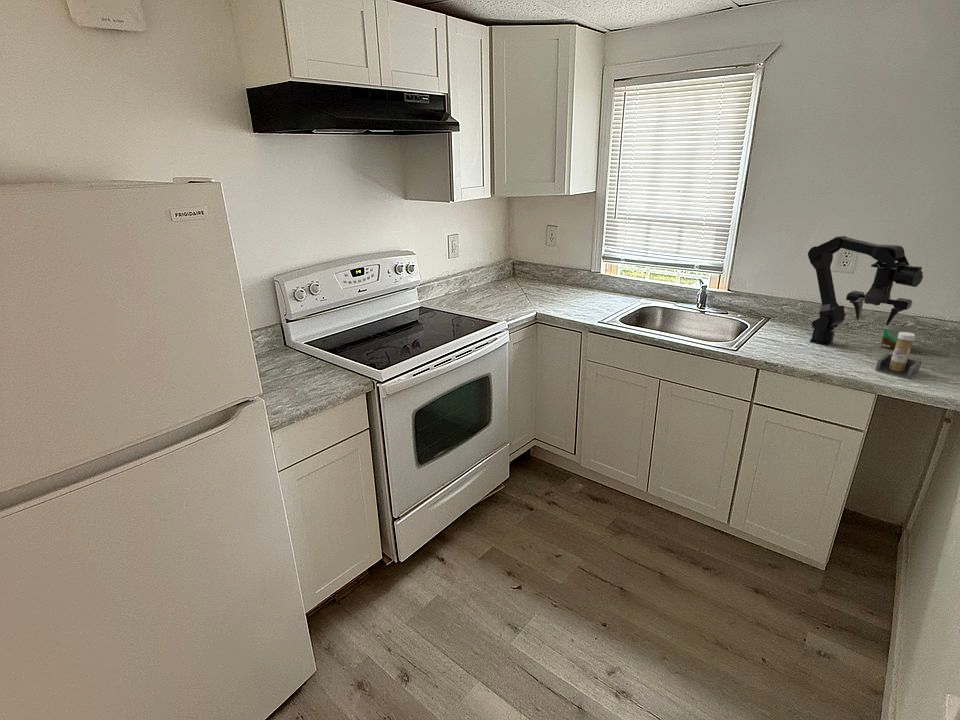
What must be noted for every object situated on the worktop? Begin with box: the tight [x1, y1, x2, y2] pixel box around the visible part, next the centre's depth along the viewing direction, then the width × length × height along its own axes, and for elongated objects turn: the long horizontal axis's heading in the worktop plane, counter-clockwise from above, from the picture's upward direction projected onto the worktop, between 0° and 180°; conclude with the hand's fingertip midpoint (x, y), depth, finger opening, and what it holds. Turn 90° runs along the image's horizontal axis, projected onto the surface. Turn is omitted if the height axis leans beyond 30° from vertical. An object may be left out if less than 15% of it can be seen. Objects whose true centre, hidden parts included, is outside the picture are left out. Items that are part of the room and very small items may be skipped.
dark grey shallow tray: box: [874, 353, 923, 380], centre depth 181 cm, size 10×10×4 cm
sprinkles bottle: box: [889, 332, 916, 372], centre depth 179 cm, size 5×5×13 cm
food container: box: [880, 320, 916, 351], centre depth 200 cm, size 12×6×10 cm, turn 106°
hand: (872, 322), depth 192 cm, fingers open, 9 cm apart
